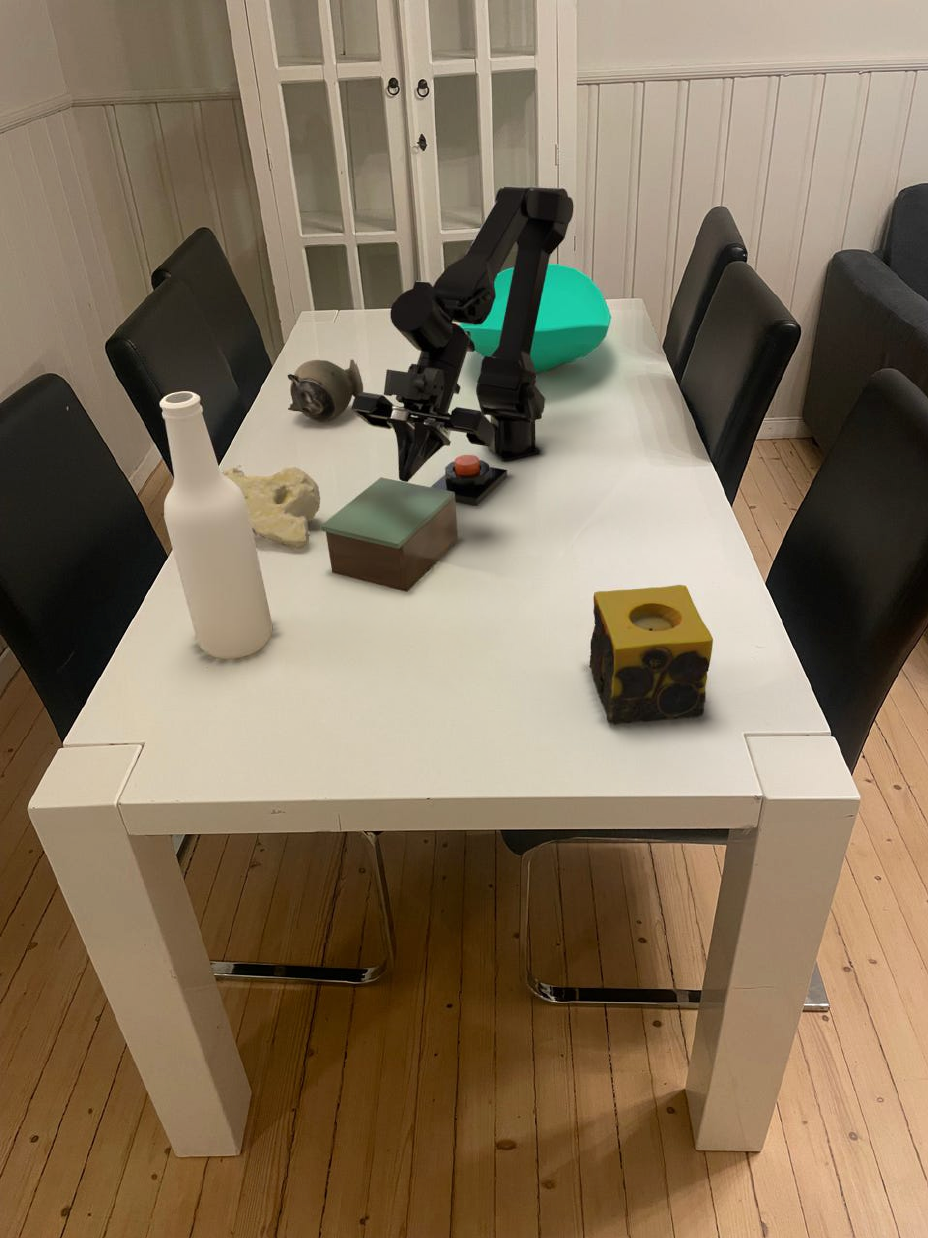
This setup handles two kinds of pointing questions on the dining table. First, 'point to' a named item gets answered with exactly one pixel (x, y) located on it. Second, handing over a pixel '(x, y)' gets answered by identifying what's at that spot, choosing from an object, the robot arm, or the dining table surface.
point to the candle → (649, 654)
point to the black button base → (471, 483)
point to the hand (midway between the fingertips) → (403, 480)
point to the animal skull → (279, 503)
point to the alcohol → (212, 539)
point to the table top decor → (551, 318)
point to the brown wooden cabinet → (395, 553)
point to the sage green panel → (388, 512)
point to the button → (467, 465)
